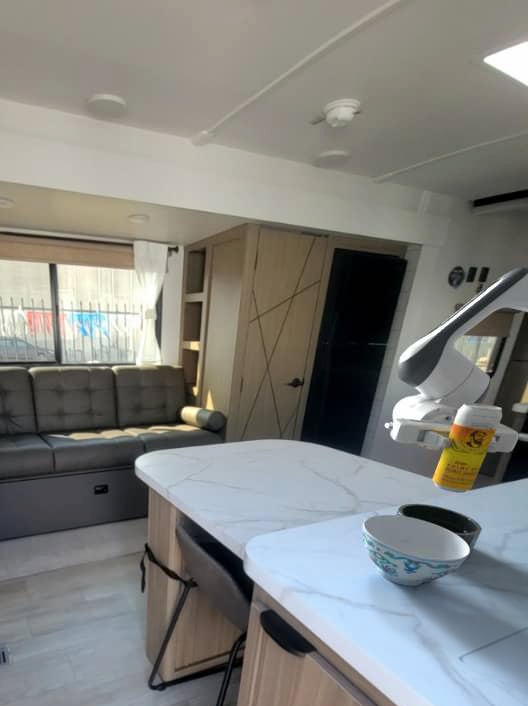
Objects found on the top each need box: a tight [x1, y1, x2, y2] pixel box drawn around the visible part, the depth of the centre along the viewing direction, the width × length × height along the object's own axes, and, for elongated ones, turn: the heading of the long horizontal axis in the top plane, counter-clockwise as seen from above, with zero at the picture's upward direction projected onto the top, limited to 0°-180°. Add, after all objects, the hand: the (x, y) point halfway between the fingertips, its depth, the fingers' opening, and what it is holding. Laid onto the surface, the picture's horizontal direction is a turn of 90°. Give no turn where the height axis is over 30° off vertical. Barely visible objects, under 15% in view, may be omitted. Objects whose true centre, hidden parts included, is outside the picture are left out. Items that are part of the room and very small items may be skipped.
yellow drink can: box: [432, 403, 503, 494], centre depth 72 cm, size 6×6×15 cm
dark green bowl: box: [395, 503, 483, 560], centre depth 79 cm, size 13×13×6 cm
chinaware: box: [362, 514, 470, 587], centre depth 68 cm, size 15×15×8 cm
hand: (470, 445), depth 71 cm, fingers closed on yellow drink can, 6 cm apart
